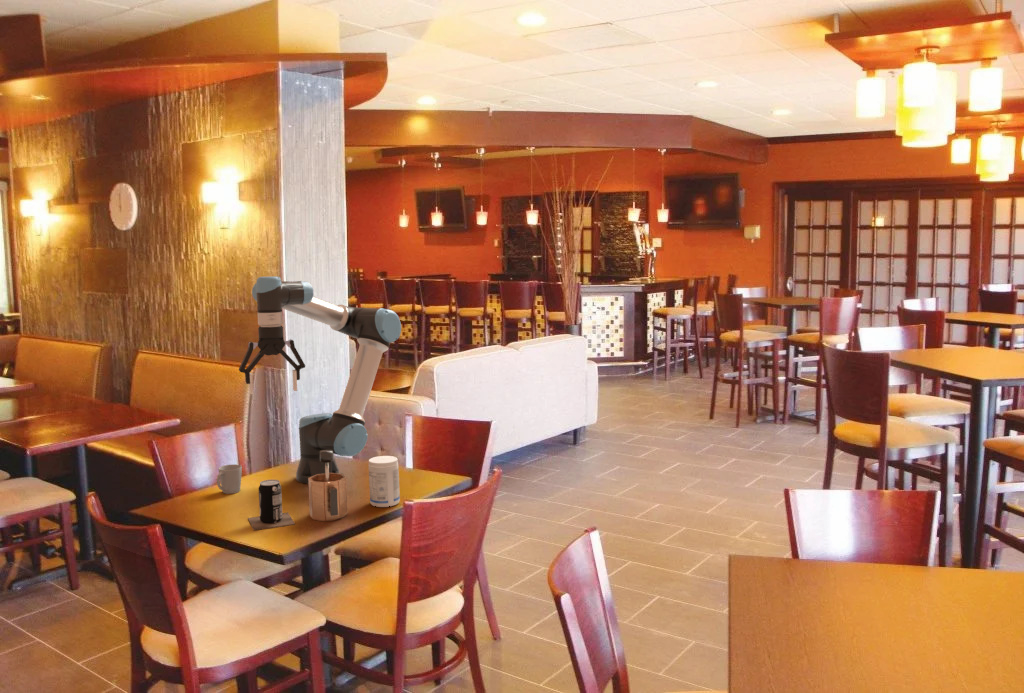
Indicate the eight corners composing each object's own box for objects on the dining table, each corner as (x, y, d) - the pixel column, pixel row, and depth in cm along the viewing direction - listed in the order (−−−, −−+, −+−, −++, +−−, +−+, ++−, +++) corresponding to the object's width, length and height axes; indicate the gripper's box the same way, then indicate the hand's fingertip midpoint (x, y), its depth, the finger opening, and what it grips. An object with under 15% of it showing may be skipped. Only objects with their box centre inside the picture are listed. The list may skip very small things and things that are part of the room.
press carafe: (307, 513, 263) (306, 475, 262) (341, 508, 267) (340, 471, 266) (316, 526, 251) (315, 486, 249) (352, 520, 255) (351, 482, 254)
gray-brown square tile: (248, 518, 258) (248, 517, 258) (287, 513, 263) (287, 512, 263) (253, 530, 247) (253, 529, 247) (295, 524, 252) (295, 523, 252)
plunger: (313, 504, 262) (311, 450, 260) (337, 500, 265) (335, 447, 263) (318, 510, 255) (316, 455, 253) (343, 507, 258) (341, 452, 256)
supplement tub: (390, 497, 279) (388, 453, 277) (405, 504, 271) (404, 459, 269) (364, 503, 272) (362, 458, 271) (379, 510, 265) (377, 464, 263)
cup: (247, 489, 289) (246, 465, 288) (227, 497, 280) (226, 472, 279) (230, 487, 292) (229, 463, 291) (209, 495, 283) (208, 470, 282)
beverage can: (259, 518, 257) (257, 480, 256) (281, 516, 259) (279, 478, 258) (260, 525, 251) (259, 486, 249) (283, 522, 253) (282, 483, 252)
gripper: (230, 328, 257) (234, 397, 259) (312, 324, 267) (315, 390, 270) (227, 326, 264) (231, 393, 266) (308, 322, 274) (310, 387, 277)
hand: (273, 392), depth 268 cm, fingers open, 13 cm apart
